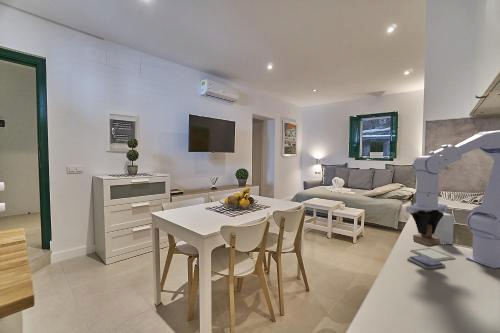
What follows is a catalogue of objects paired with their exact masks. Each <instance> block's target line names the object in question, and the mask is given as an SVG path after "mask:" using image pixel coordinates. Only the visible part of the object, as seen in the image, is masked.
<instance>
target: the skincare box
mask: <svg viewBox="0 0 500 333" xmlns="http://www.w3.org/2000/svg"><path fill="white" fill-rule="evenodd" d="M441 212H442V213H444V214H443V217H442V218H441V219H440V221H439V222H438V224H437V227H436V230H435V233H434V234H432V236H434V237H437V238H440V243H441V245H446V244H453V245H454V215H452V214H450V213H447V212H444V211H441ZM443 243H444V244H443Z"/></svg>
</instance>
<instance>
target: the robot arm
mask: <svg viewBox="0 0 500 333" xmlns="http://www.w3.org/2000/svg"><path fill="white" fill-rule="evenodd" d="M477 149H479V150H480V151H481V152H483V153H484V154H486V155H487V156H488V157H490V158H491V159H492V160H493V164H492V167H491V171H490V175H489V177H488V180H487V183H486V184H487V185H486V188H485V191H484V194H483V198H482V202H481V204H479V205H478V206H475V207H473V208H472V210H471V212H470V214H469V215H468V216H467V218H466V225H467V228H469V230H470V233H472V255H467V256H465V259H467V260H470V261H473V262H475V263H478V264H481V265H483V266H487V267H490V268H492V269H497V268H500V129H497V130H490V131H480V132H478V133H474V135H472V136H471V137H469V138H467V139H465V140H464V141H462V142H459V143H457V144H456V145H453V144H443V145H440V148H439V149H436V150H434V151H429V152H428V154H426V155H420V156H418V157H416V158H415V159H414V161H413V163H412V164H411V167H412V169H413V171H414V176H415V178H416V181H415V182H416V183H415V184H416V188H415V192H416V193H415V203H413V204H411V205H406V206H405V213H410V215H411V217H412V218H413V220H414V223H415V225H416V228H417V233H418V234H423V235H426V233H427V225H428V224H431V225H432V235H433V234H434V233H435V230H436V227H437V224H438V222H439V221H440V219H441V218H442V217H443V214H444V213H445V212H446V211H448V205H447V204H442V203H439V178H440V177H439V174H440V173H442V172H443V170H444V168H445V167H448V166H450V165H451V164H454V163H456V162H458V161H460V160H461V159H462V157H463V155H465V154H468V153H469V152H470V153H471V152H472V151H474V150H477ZM442 212H443V213H442Z"/></svg>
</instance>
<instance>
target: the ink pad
mask: <svg viewBox="0 0 500 333" xmlns="http://www.w3.org/2000/svg"><path fill="white" fill-rule="evenodd" d="M406 261H409V262H411V263H413V264H415V265H417V266H419V267H421V268H422V269H423V268H424V269H425V270H434V269H441V268H442V269H443V268H446V264H444V263H443V262H441V261H436V260H433V259H431V258H429V257H426V256H424V255H412V256H409V257H407V260H406Z"/></svg>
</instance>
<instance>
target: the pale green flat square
mask: <svg viewBox="0 0 500 333" xmlns="http://www.w3.org/2000/svg"><path fill="white" fill-rule="evenodd" d="M410 252H411V253H414V254H416V255H417V256H420V255H424V256H426V257H429V258H431V259H433V260H436V261H438V262H441V261H447V260H448V261H449V260H455V259H456V257H455V256H452V255H449V254H447V253H445V252H441V251H439V250H437V249H436V250H435V249H434V248H430V247H426V248H419V249H418V248H417V249H411V250H410Z"/></svg>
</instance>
